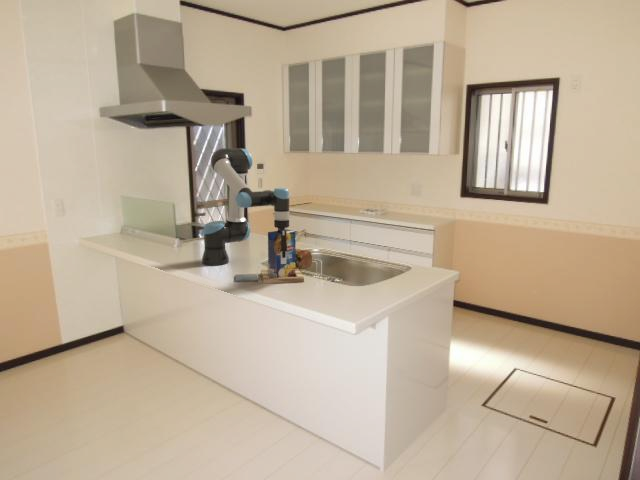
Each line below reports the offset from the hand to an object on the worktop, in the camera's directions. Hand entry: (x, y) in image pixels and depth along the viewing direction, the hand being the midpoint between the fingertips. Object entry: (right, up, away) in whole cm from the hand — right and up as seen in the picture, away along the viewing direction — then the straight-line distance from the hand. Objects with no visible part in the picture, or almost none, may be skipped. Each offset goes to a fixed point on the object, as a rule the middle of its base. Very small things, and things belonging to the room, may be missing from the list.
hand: (281, 260), depth 233 cm
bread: (+5, -4, +26) cm, 26 cm away
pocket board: (0, -9, +2) cm, 9 cm away
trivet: (-18, -9, -1) cm, 20 cm away
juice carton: (0, -9, +2) cm, 9 cm away
